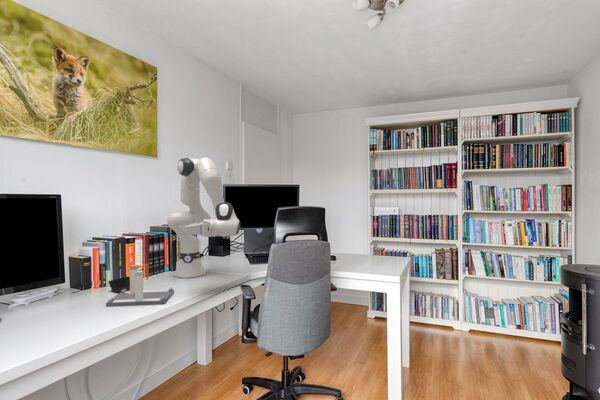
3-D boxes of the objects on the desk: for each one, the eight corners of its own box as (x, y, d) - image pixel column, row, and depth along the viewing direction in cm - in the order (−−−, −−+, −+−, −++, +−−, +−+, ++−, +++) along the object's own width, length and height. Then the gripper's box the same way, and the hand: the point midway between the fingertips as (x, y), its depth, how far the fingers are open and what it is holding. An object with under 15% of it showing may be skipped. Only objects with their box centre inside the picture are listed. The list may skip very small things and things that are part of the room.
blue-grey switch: (136, 299, 143) (137, 271, 143) (143, 298, 143) (143, 270, 143) (134, 301, 140) (135, 272, 140) (141, 300, 141) (141, 272, 141)
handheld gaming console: (123, 291, 156) (115, 273, 159) (113, 299, 157) (105, 281, 160) (141, 288, 167) (134, 272, 170) (132, 296, 168) (124, 279, 171)
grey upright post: (131, 290, 155) (131, 265, 155) (137, 290, 156) (137, 264, 156) (129, 292, 153) (129, 266, 153) (135, 292, 153) (135, 265, 153)
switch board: (122, 294, 155) (122, 289, 155) (174, 292, 159) (174, 287, 159) (105, 306, 138) (105, 300, 138) (164, 304, 141) (164, 298, 141)
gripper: (209, 220, 172) (183, 220, 170) (204, 223, 152) (174, 223, 150) (209, 232, 172) (183, 232, 170) (204, 236, 152) (174, 236, 150)
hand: (178, 228), depth 159 cm, fingers closed
